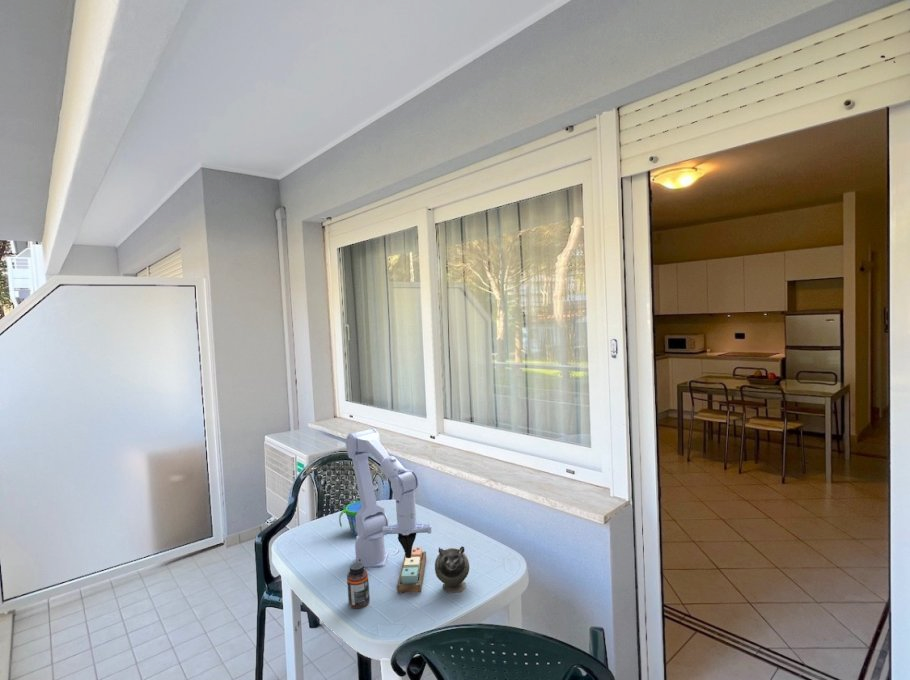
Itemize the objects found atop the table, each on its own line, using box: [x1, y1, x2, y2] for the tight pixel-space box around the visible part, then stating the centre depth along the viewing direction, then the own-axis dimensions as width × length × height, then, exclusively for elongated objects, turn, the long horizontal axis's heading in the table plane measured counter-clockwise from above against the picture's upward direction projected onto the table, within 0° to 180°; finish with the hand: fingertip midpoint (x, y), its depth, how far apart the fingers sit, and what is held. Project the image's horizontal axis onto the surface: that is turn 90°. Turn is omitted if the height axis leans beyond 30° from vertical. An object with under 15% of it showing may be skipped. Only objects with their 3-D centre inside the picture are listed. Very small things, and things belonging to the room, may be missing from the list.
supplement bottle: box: [346, 561, 371, 609], centre depth 136 cm, size 6×6×11 cm
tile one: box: [404, 557, 421, 572], centre depth 149 cm, size 5×5×3 cm
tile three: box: [411, 546, 423, 561], centre depth 155 cm, size 5×5×3 cm
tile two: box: [401, 567, 419, 584], centre depth 143 cm, size 5×5×3 cm
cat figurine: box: [434, 546, 470, 594], centre depth 141 cm, size 10×12×10 cm
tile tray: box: [396, 551, 427, 595], centre depth 149 cm, size 7×19×2 cm, turn 179°
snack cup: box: [338, 500, 371, 537], centre depth 181 cm, size 16×10×10 cm
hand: (408, 556), depth 143 cm, fingers closed
